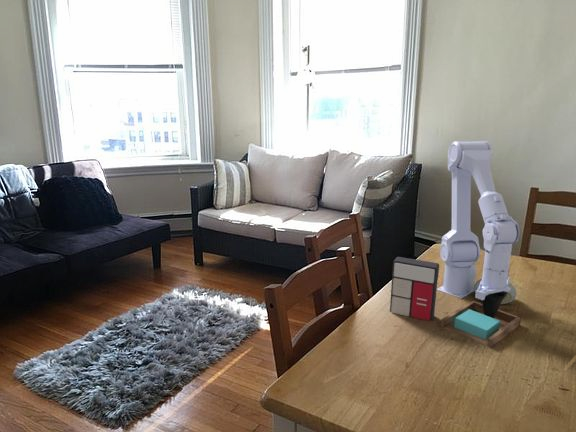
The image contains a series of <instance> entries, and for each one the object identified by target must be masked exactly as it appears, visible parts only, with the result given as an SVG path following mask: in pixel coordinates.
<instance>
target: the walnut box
mask: <svg viewBox="0 0 576 432" xmlns="http://www.w3.org/2000/svg"><path fill="white" fill-rule="evenodd" d="M469 309H470V310H473V311H475V312H478V313H481V314H483V315H484V310H483V304H482V302H478V301H475V300H471V301H470V302H468V303H467V304H465V305H463V306H461V307H460V308H457V309H456V310H455V311H453V312H452V313H450V314H448V315H447V316H445V317H443V318H441V321H440V327H441V328H443V329H445V330H447V331H450V332H451V333H455V334H457V335H460V336H463V337H465V338H467V339H469V340H472V341H473V342H475V343H478V344H481V345H483V346H486V347H487V348H493V346H495V345H496V344H498V343H499V342H500V341H501V340H503V339H504V338H505V337H507V336H508V335H509V334H510V333H512V332H513V331H515V329H516V328H518V327H519V326H520V325H521V321H522V317H520V316H517V315H514V314H512V313H509V312H506V311H503V310H501V309H498V311H497V313H496V315H495V317H494V319H497V320H499V321H500V327H499V330H498V331H497V332H496V333H494V334H493V335H492V336H490V337H489V338H488V339H486V340H484V339H482V338H480V337H477V336H475V335H472V334H470V333H467V332H465V331H463V330H460V329H458V328H455V327H454V324H455V318H456V317H458V316H459V315H461V314H462V313H464V312H466V311H467V310H469Z"/></svg>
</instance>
